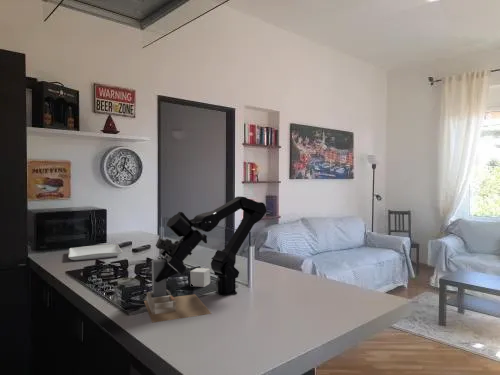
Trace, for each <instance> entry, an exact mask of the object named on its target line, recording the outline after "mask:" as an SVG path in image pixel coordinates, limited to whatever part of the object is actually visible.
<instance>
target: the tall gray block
mask: <svg viewBox="0 0 500 375" xmlns="http://www.w3.org/2000/svg"><path fill="white" fill-rule="evenodd" d="M163 267H164V259H161V258H159V259H151V287H152V288H151V289H152V290H151V292H152V298H154V297H161V296H166V290H167V278H166V279H164V280H162V281H159V282H156V281H155V279H156V278H157V276H158V274H159V273H160V272H161V270H162V269H163Z"/></svg>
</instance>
